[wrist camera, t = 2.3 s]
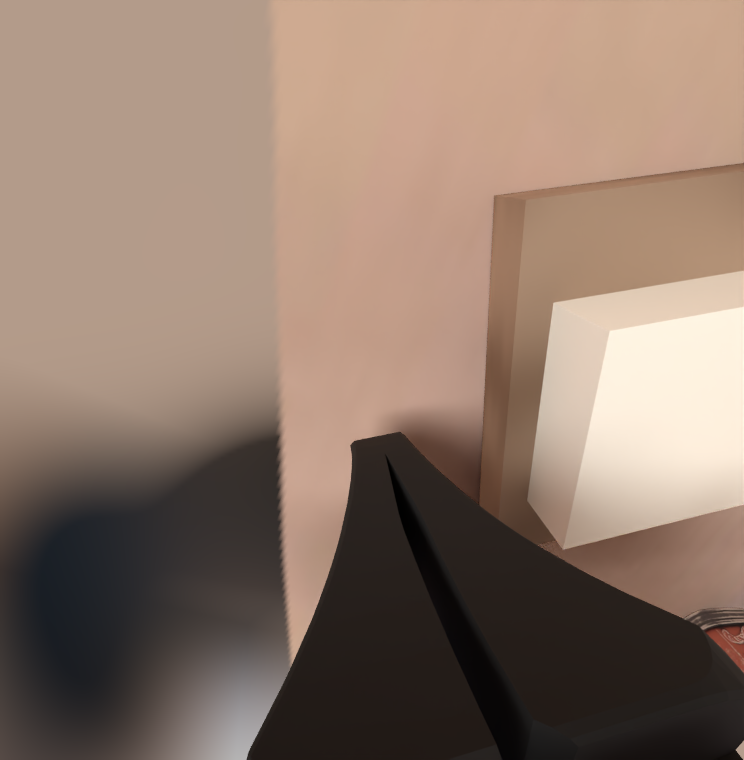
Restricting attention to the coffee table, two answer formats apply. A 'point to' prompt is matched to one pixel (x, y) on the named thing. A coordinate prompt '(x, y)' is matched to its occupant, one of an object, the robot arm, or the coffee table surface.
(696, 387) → the cream flat block
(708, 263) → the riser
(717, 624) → the lighter
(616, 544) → the coffee table surface
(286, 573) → the coffee table surface
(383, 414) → the coffee table surface
